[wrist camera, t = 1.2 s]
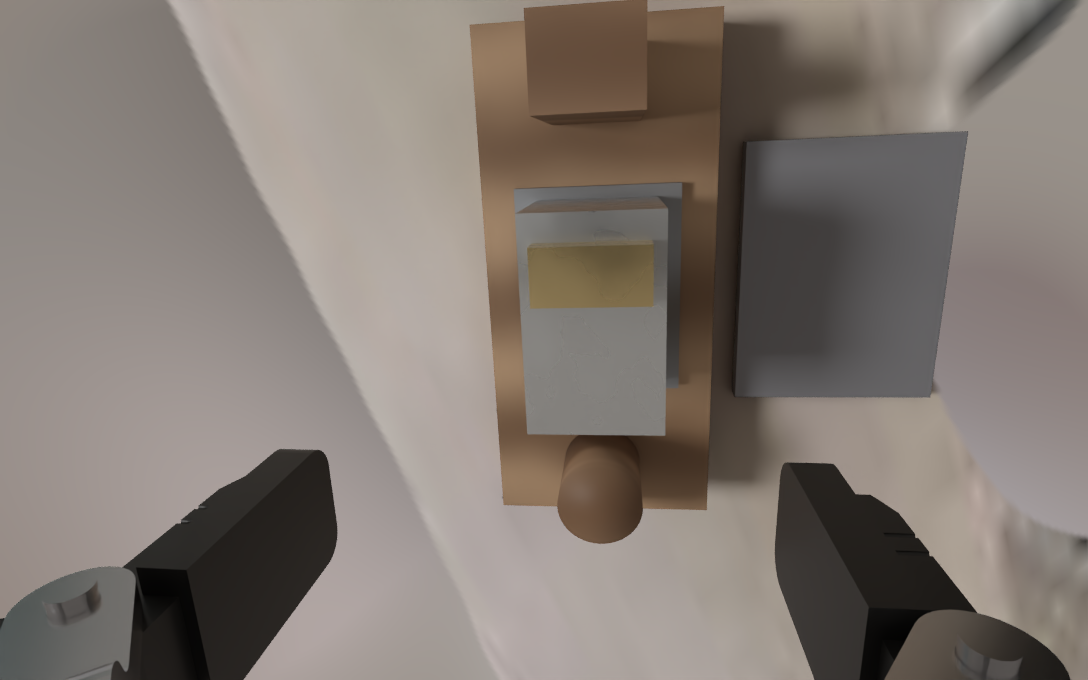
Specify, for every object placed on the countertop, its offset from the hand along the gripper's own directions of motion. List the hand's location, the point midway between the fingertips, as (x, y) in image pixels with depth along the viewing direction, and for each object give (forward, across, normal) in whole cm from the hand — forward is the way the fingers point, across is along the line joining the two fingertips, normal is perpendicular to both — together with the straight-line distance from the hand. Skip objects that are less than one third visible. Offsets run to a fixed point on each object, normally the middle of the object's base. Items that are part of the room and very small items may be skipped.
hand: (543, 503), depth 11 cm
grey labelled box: (+17, 0, 0) cm, 17 cm away
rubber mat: (+21, -11, 0) cm, 24 cm away
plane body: (+21, 0, 0) cm, 21 cm away
